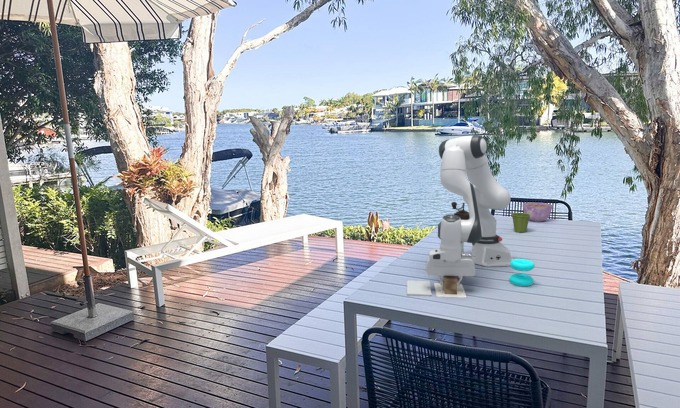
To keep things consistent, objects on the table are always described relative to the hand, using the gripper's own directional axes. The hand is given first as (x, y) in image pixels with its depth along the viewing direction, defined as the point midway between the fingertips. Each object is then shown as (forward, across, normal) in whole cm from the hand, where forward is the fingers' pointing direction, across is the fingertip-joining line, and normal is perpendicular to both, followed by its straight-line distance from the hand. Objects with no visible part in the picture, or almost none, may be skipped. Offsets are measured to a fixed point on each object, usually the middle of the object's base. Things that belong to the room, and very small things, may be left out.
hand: (449, 285), depth 188 cm
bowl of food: (+3, -74, -144) cm, 162 cm away
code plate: (+2, 0, 0) cm, 2 cm away
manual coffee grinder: (+3, -19, -121) cm, 123 cm away
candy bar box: (+3, -4, -19) cm, 20 cm away
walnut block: (+2, 0, 0) cm, 2 cm away
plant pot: (+3, -55, -110) cm, 123 cm away
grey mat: (+2, +13, 0) cm, 13 cm away
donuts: (+3, -32, -12) cm, 34 cm away
